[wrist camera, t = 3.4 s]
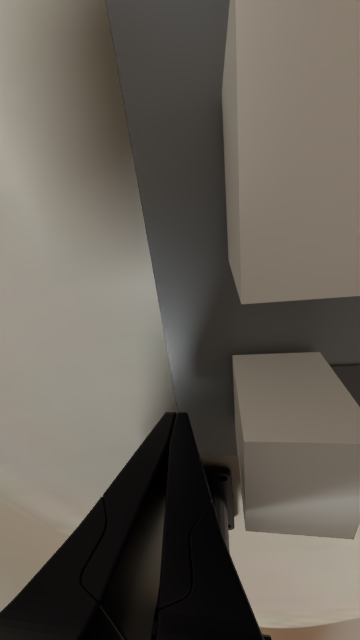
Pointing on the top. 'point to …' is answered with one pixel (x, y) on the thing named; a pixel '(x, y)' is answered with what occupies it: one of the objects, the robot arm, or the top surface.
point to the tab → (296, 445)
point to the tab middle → (292, 148)
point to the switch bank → (204, 217)
